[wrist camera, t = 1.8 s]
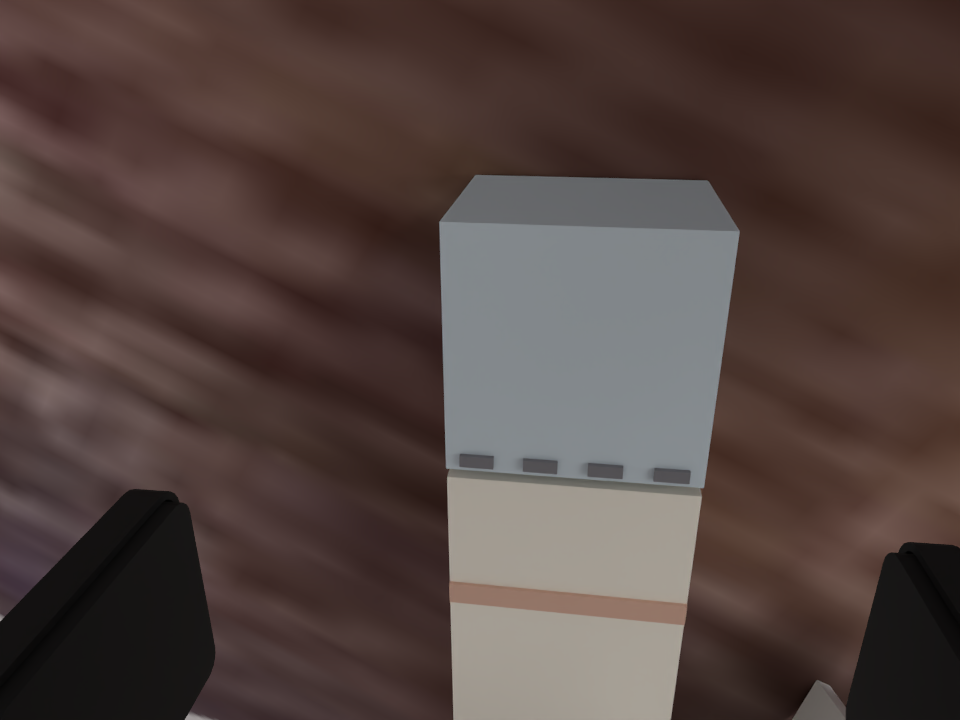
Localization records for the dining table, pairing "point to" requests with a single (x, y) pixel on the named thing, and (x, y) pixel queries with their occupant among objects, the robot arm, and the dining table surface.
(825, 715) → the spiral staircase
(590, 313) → the grey box
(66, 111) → the dining table surface
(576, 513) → the block
